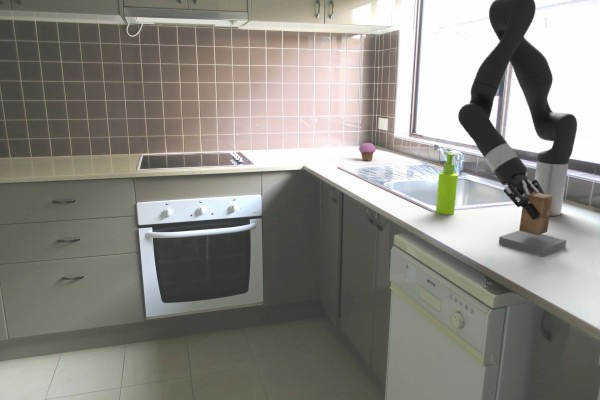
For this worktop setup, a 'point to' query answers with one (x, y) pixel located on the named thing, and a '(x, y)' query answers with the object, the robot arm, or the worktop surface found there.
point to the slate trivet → (532, 243)
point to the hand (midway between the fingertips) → (542, 216)
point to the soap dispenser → (447, 187)
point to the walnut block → (541, 223)
